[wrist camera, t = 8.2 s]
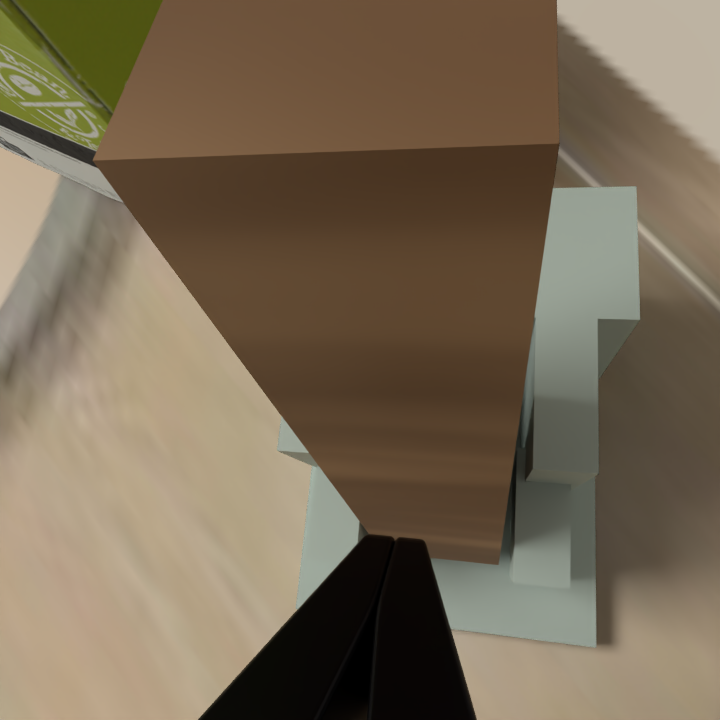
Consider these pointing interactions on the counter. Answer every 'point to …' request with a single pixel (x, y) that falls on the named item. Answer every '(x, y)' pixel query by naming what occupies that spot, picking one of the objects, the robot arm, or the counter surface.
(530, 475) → the bracket
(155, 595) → the counter surface
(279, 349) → the brown wooden post
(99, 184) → the tea box
